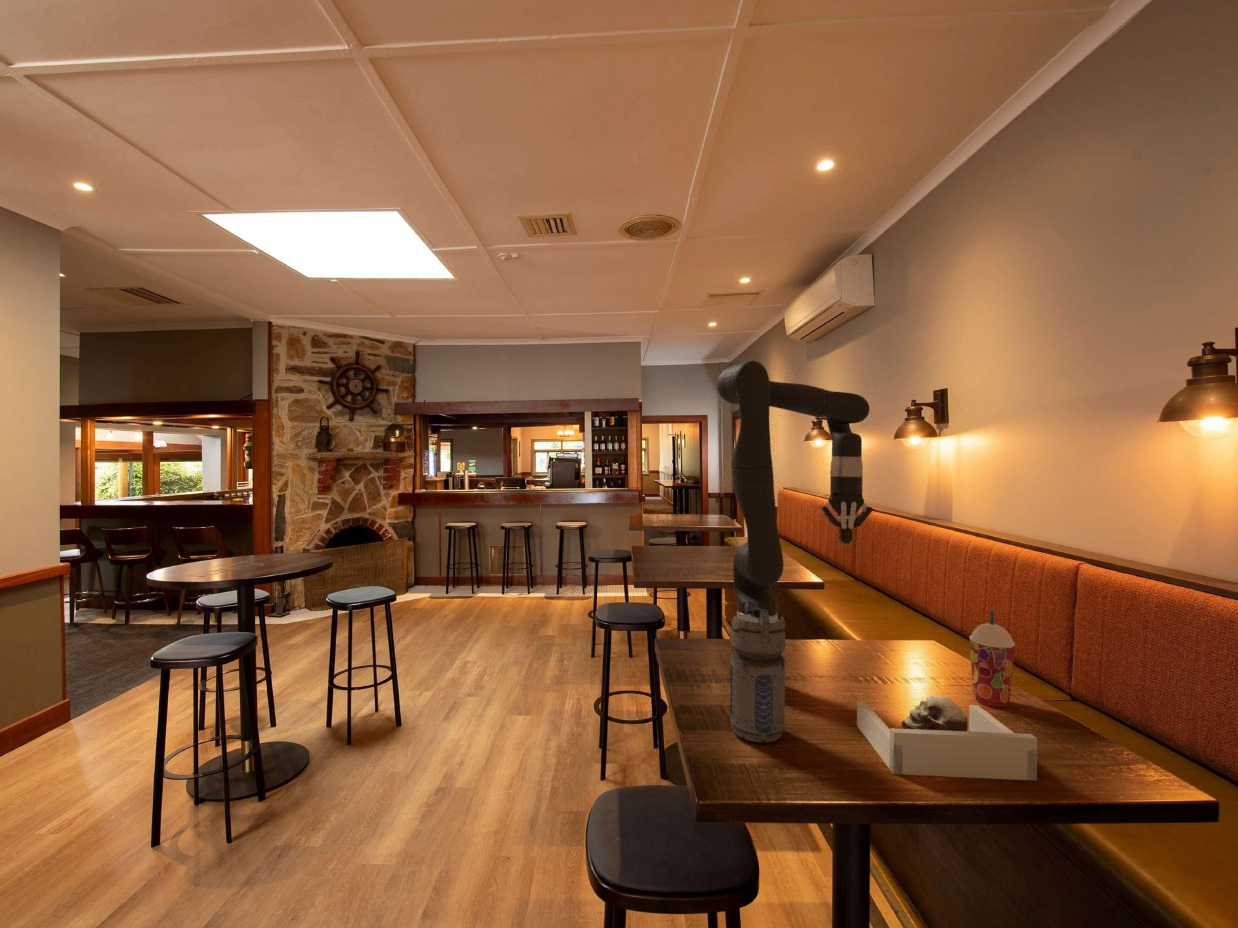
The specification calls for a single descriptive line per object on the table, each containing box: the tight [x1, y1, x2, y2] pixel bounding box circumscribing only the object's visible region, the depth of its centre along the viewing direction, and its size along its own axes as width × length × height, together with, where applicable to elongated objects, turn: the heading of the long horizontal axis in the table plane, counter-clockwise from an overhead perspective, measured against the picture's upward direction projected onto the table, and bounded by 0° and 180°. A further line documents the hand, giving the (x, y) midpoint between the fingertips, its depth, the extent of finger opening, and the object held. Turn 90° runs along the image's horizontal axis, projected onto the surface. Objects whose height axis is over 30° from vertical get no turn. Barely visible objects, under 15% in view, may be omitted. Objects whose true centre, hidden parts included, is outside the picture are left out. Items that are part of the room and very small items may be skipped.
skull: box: [901, 694, 969, 731], centre depth 109 cm, size 12×10×10 cm
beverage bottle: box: [729, 600, 786, 744], centre depth 110 cm, size 10×13×25 cm
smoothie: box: [968, 610, 1016, 708], centre depth 124 cm, size 8×8×20 cm
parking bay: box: [856, 700, 1038, 782], centre depth 103 cm, size 23×18×7 cm
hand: (845, 543), depth 143 cm, fingers closed
